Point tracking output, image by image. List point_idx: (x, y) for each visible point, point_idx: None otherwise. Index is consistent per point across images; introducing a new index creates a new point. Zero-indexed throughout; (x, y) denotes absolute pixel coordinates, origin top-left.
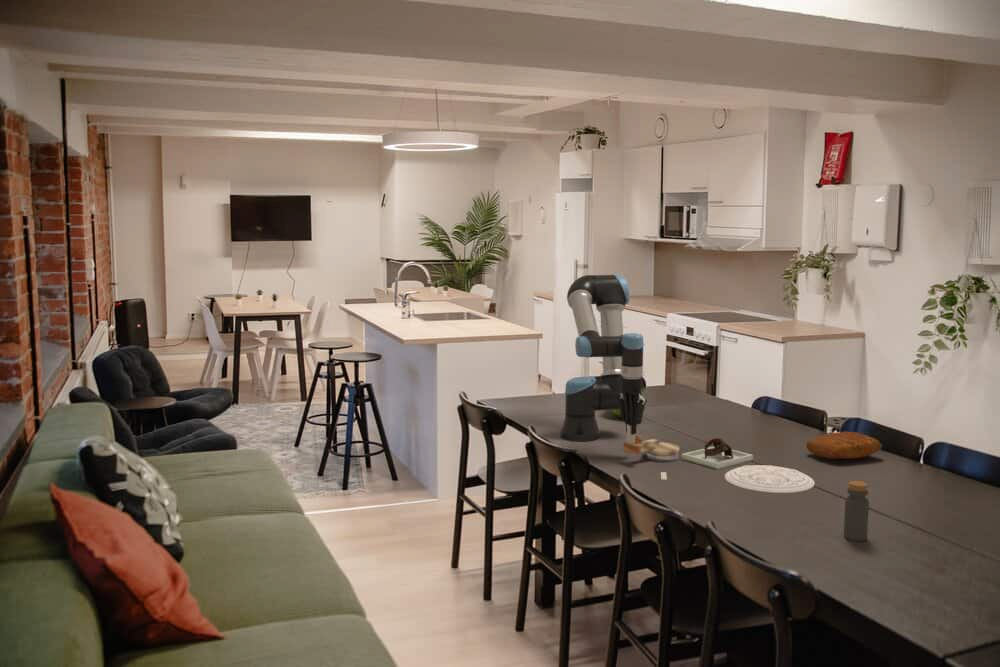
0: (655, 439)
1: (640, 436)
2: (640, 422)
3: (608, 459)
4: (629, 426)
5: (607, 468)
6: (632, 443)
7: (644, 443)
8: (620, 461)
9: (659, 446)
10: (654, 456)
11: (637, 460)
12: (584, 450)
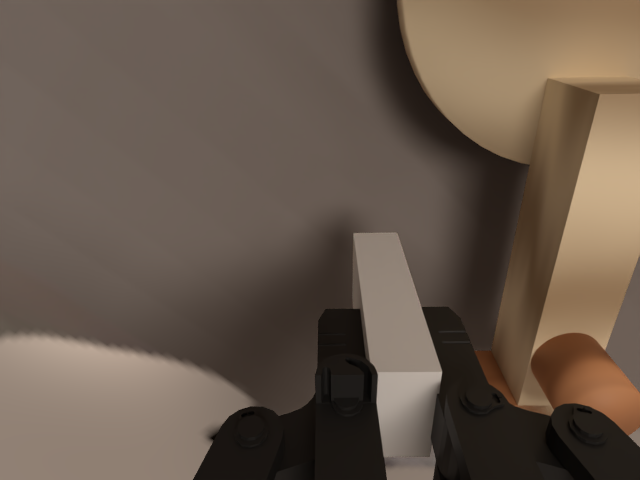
0: (636, 108)
1: (629, 409)
2: (617, 443)
3: (308, 344)
4: (418, 443)
5: None
6: (527, 398)
7: (614, 318)
8: None
9: (587, 2)
10: None
11: (453, 222)
12: (43, 328)
